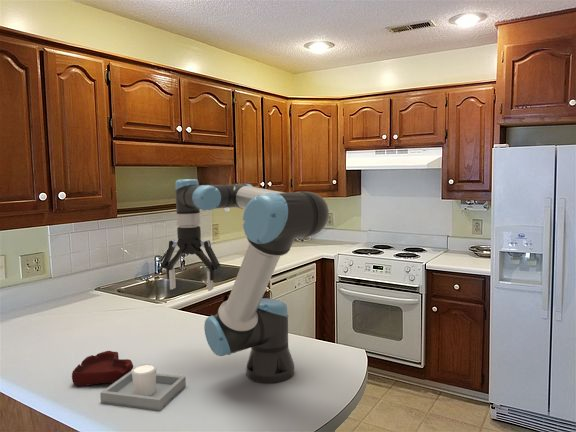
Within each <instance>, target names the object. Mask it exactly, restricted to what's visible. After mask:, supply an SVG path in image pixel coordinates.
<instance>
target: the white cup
mask: <svg viewBox="0 0 576 432" xmlns="http://www.w3.org/2000/svg"><path fill="white" fill-rule="evenodd" d="M131 372H132V379H133V385H134V392H135V395H143V396H150V395H152V394H153V393H155V388H156V373H157V366H156V365H155V364H151V363H150V364H149V363H146V364H140V365H137V366H135V367H134V366H133V369H132V370H131Z"/></svg>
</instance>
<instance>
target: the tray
mask: <svg viewBox="0 0 576 432" xmlns="http://www.w3.org/2000/svg"><path fill="white" fill-rule="evenodd" d="M185 386H187V379H186V376H185V375H176V374H167V373H157V372H156V388H155V393H153V394H152V395H150V396H143V395H135V392H134V385H133V379H132V372H131V371H130V372H129V373H127V374H126V375H124V376H123V377H122V378H120V379H119V380H117V381H116V382H112V384H110V385H108V387H106V388H105V389H103V390H102V391H100V403H101V404H106V405H114V406H120V407H127V408H128V407H130V408H136V409H143V410H144V409H145V410H151V411H156V412H157V411H160V412H161V411H162V410H163V408H165V407H166V406H167V405H168V404H169V403H170V402H171V401H172V400H173V399H174V398H175V397H177V395H179V393H180V392H182V391H183V390H184V389H185V388H186V387H185ZM184 387H185V388H184Z"/></svg>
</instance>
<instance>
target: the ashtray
mask: <svg viewBox="0 0 576 432" xmlns="http://www.w3.org/2000/svg"><path fill="white" fill-rule="evenodd" d="M133 368H134V364H133V362H132V360H131V359H128V358H127V359H125V358H124V359H120V358H119V352H117V351H112V350H106V351H102V352H99V353H97V354H95V355H93V354H92V355H91V354H90V355H89V356H86V357H84V359H83V360H82V362H81V364H78V365H77V366H76V367H75V368H74V369H73V371H72V373H71V381H72V383H73V385H74V386H76V387H82V386H83V387H86V386H93V385H100V384H110V383H115V382H116V381H117V380H119V379H120V378H122V377H123V376H124V375H126V374H127V373H129V372H130V371H131V370H132V369H133Z"/></svg>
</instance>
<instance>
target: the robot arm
mask: <svg viewBox="0 0 576 432" xmlns="http://www.w3.org/2000/svg"><path fill="white" fill-rule="evenodd" d="M174 193H175V208H176V226H177V230H176V231H177V240H175V239H173V240H172V239H171V240H169V241H168V248H167V250H166V252H165V254H164V257H163V260H162V262H161V265H160V267H161V269H166V277H167V280H169V290H174V289H176V287H177V286H176V268H174V267H175V265H176V264H177V263H178V261H179V260H180V259H181V257H182V256H183V255H196V257H198V259H200V260H201V262H202V263H203V264H204V265H205V267H206V268H207V269H208V270H207V271H206V273H207V274H206V276H207V278H206V279H207V280H206V281H207V291H208V292H212V291H213V290H214V281H215V280H216V270H218V269H219V268H221V264H220V261H219V260H218V258H217V256H216V254H215V252H214V250H213V248H212V245H211V240H209V239H208V240H204V241H202V235H201V234H202V233H201V229H202V228H201V226H200V225H201V213H200V212H201V211H200V210H202V211H211V210H216V209H227V208H229V209H230V208H237V209H243V210H244V211H243V215H242V221H244V222H243V223H242V228H243V231H244V234H245V236H246V240H247V242H248V246H247V250H246V251H245V254H244V257H243V259H242V262H241V265H240V267H239V270H238V272H237V275H236V278H235V281H234V283H233V286H232V288H231V290H230V294H229V296H228V299H227V300H225V301H223V302H222V303H221V304H220V306H219V308H218V309H217V313H216V314H214V315H210V316H208V317H206V318H205V321H204V324H203V325H204V326H203V327H204V328H203V329H204V335H205V339H206V342H207V345H208V347H209V348H210V351H211V352H212V353H213V354H215V355H216V356H218V357H223V356H224V357H225V356H230V355H232V354H235V353H238V352H242V351H244V350H247V349H250V353H249V355H248V359H247V362H246V367H245V372H246V373H245V374H246V376H247V378H248V379H249V380H252V381H254V382H257V383H262V384H275V383H280V382H284V381H287V380H289V379H290V378H292V377H293V376H294V374H295V363H294V359H293V357H292V354H291V350H290V349H289V315H288V314H289V311H288V306H287V304H286V302H284V301H283V300H280V299H275V298H266V297H265V298H263V297H264V294H265V293H266V290H267V287H268V286H269V283H270V280H271V278H272V277H273V274H274V271H275V269H276V267H277V265H278V263H279V260H280V258H281V257H282V256H285V255H287V254H288V253H289V251H290V250H291V247H292V245H293V244H294V241H295V240H296V239H301V238H307V237H308V238H309V237H313V236H314V235H315V236H316V235H317V234H319V233H320V232H321V231H323V229H324V228H325V227H326V225H327V223H328V221H329V217H330V216H329V214H330V211H329V210H330V209H329V207H328V203H327V202H326V200H325V199H324V198H323V197H322V196H321V195H319V194H318V193H315V192H312V191H294V192H284V191H280V190H279V191H277V190H272V189H266V188H261V187H254V186H253V185H252V184H251V183H236V184H206V185H205V184H202V185H200V184H199V180H198V179H197V178H196V179H195V178H193V179H192V178H191V179H190V178H189V179H177V180H176V181H175V189H174ZM176 247H178V248H179V249H178V250H177V252H176V253H175V255H174V256H173V254H174V252H175V248H176ZM202 248H204V250H205V252H206V253H204V251H203V249H202ZM206 254H207V255H206ZM172 256H173V257H172Z"/></svg>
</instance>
